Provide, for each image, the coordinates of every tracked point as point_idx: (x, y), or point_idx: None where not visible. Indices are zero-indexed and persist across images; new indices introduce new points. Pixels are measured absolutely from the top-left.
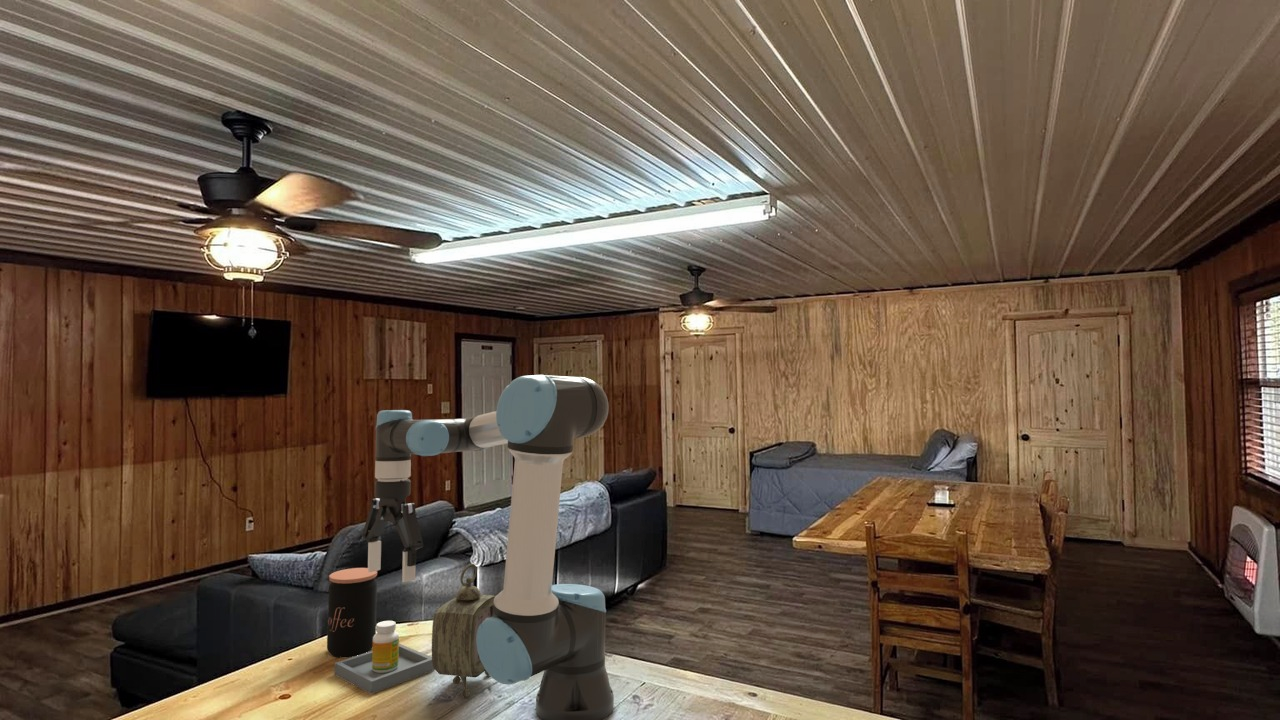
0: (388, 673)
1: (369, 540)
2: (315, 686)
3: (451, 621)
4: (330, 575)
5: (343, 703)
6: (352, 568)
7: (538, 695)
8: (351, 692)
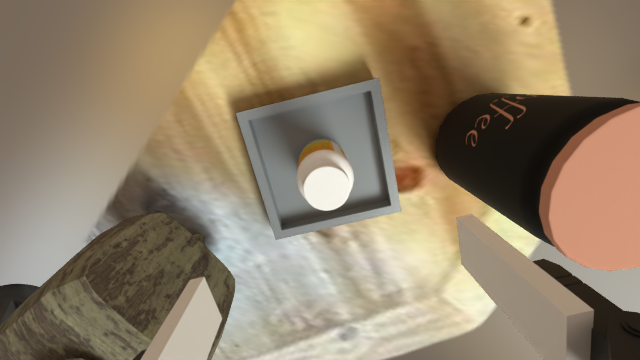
0: (256, 150)
1: (608, 329)
2: (341, 31)
3: (36, 293)
4: None
5: (230, 57)
6: None
7: None
8: (270, 83)
